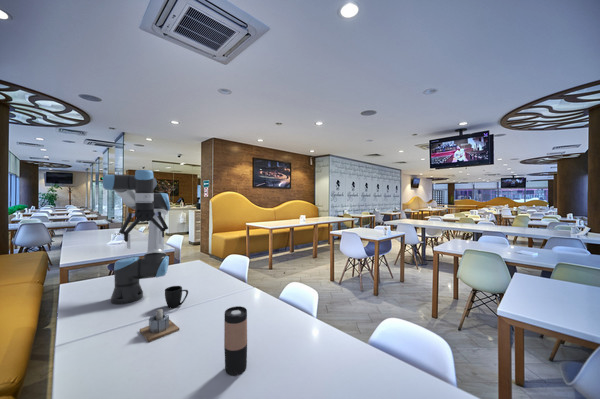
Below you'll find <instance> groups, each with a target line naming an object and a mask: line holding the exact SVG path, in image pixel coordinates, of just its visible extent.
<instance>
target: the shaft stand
mask: <svg viewBox="0 0 600 399" xmlns="http://www.w3.org/2000/svg"><path fill="white" fill-rule="evenodd" d="M163 314H164V311H163V309H162V308H160V309H159V308H158V309H156V310H155V315H156V320H160V319H163ZM179 331H180V327H179V326H178V325H177V324H175V323H174V322H173V321H172V320H171V319H169V327H168V329H167V330H165V331H163V332H160V333H150V332H149V325H147V326H144V327H142V328H140V329H139V332H140V333H141V335H142V336H143V337H144V338H145V340H146V341H147V342H148V343H151V342H153V341H155V340H159V339H161V338H164V337H167V336H168V335H171V334H174V333H176V332H179Z"/></svg>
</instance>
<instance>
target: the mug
mask: <svg viewBox="0 0 600 399" xmlns="http://www.w3.org/2000/svg"><path fill="white" fill-rule="evenodd" d="M183 292H185V296H184V297H183V300H182V296H183ZM188 294H189V290H188V289H183V286H181V285H172V286H167V287H166V288H165V289H164V298H165V303H166V305H167V308H168V309H176V308H178V307H181V306H182V305H183V303H184V302H185V301H186V299H187V298H188Z"/></svg>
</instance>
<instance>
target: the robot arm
mask: <svg viewBox="0 0 600 399" xmlns="http://www.w3.org/2000/svg"><path fill="white" fill-rule="evenodd" d="M157 183H158V182H157V179H156V178H155V177H154V171H153V170H150V169H136V170H135V171H134V175H133V174H105V175H104V176H103V178H102V186H103V188H104V190H105V191H108V190H109V191H114V192H115V193H116V194H117V195H118V196H119V197H120V198H121V199H122V202H123V204H124V205H125V206H126V207H127V208H130V209H132V210H134V211H135V212H134V213H132V212H127V214H126V219H125V220H124V222H123V224H122V226H121V227H120V229H119V231H118V232H119V234H121V235H123V241H124V243H126V249H128V250H129V249H131V234H130V233H131V231H132V230H134V228H135V227H136V226H137V225H138V224H139V223H140V222H141V223H144V222H149V223H148V234H147V235H148V236H147V238H148V239H147V252H145V254H144V256H143V258H140V257H139V255H133V256H132V255H131V256H127V257H123V258H121V259H120V258H119V259H118V260H116V261H115V262H114V268H113V271H114V288H113V290H112V294H111V296H110V304H114V305H124V304H129V303H132V302H135V301H138V300H141V299H142V298H143V296H144V291H143V288H142V285H141V284H140V280H144V279H152V278H153V279H154V278H156V279H157V278H162V277H164V276H166V274H167V273H168V268H169V264H170V262H169V261H170V256H168V255H167V253H166V252H165V249H164V248H165V245H164V244H165V231H167V230H168V229H169V226H168V225H167V223H166V222H165V220H166V215H167V214H168V213H169V212H168V211H170V210H171V204H170V197H169V194H168V193H165V192H154V189H155V188H156V187H157V185H158V184H157ZM134 217H135V219H134V221H133V222H132V223H131V224H130V225H129V223H130V222H131V220H132V218H134Z"/></svg>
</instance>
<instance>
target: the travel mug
mask: <svg viewBox="0 0 600 399" xmlns="http://www.w3.org/2000/svg"><path fill="white" fill-rule="evenodd" d="M223 322H224V326H223V327H224V329H223V330H224V332H223V333H224V338H223V340H224V346H223V348H224V369H225V373H226V374H227V375H228V376H232V377H233V376H235V377H236V376H239V375H242V374H244V372H245V371H246V370H247V365H248V364H247V363H248V309H247V308H246V307H245V306H241V305H240V306H236V305H235V306H232V307H229V308H226V310H225V311H224V320H223Z"/></svg>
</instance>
